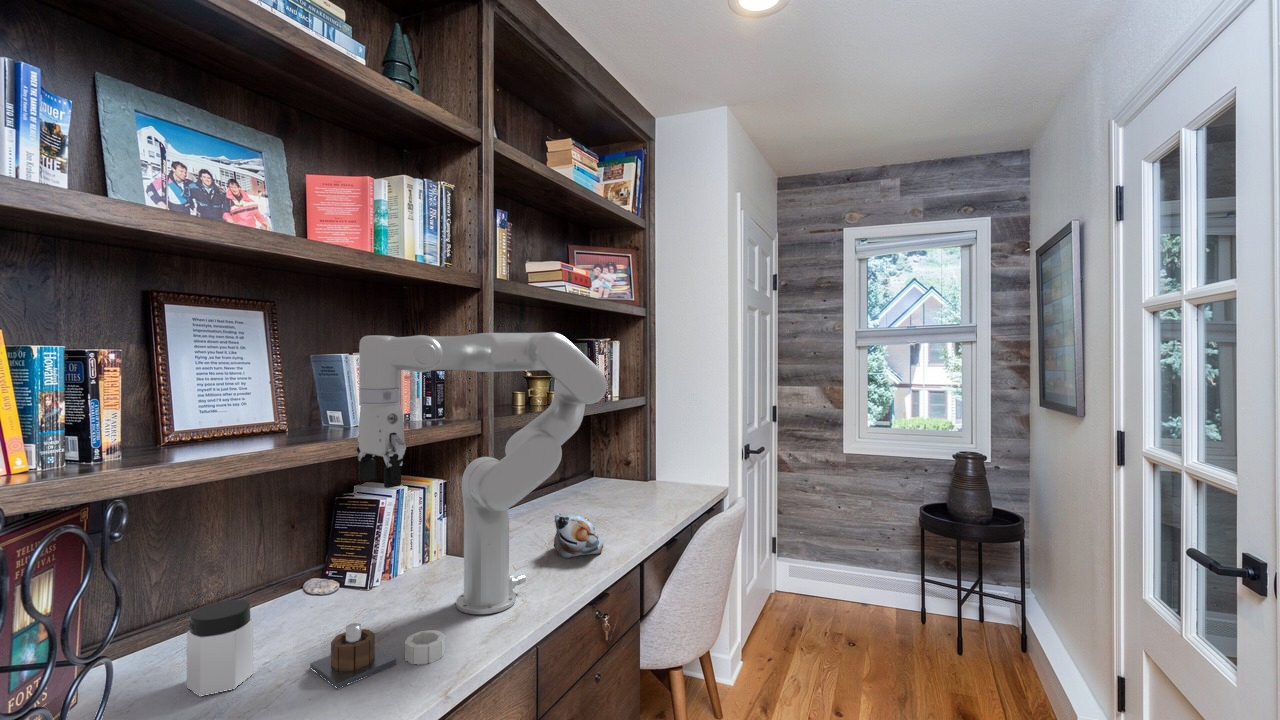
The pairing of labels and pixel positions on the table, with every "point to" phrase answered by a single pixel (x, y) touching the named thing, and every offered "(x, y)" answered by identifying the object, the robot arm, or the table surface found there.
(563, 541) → the lucky cat figurine
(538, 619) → the table surface
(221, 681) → the jar
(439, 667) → the table surface
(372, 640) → the brown angular block
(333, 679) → the post
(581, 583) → the table surface
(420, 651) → the collar
